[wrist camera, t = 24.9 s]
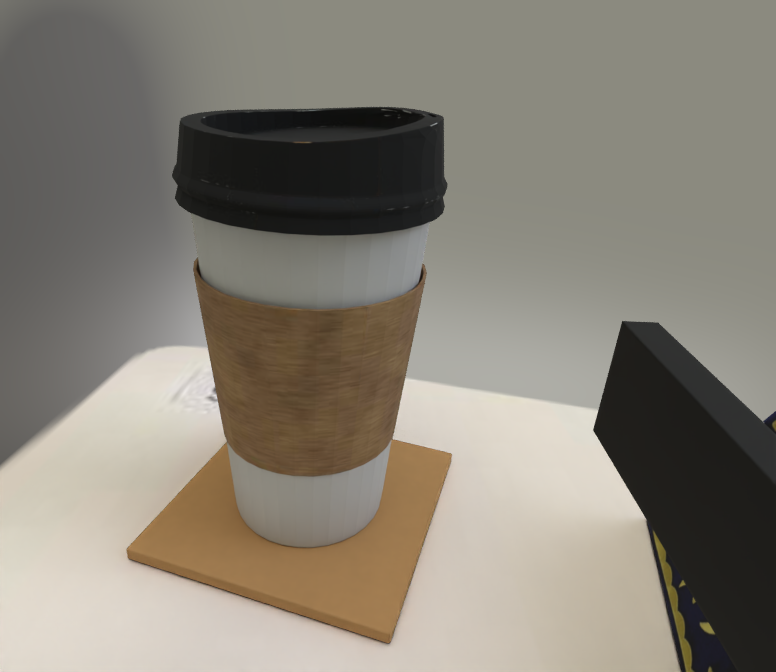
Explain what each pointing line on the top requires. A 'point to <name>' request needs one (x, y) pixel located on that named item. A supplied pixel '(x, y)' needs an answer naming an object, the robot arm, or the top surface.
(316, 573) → the coaster
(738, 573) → the robot arm
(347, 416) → the coffee cup
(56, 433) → the top surface
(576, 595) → the top surface
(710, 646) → the decorative box
